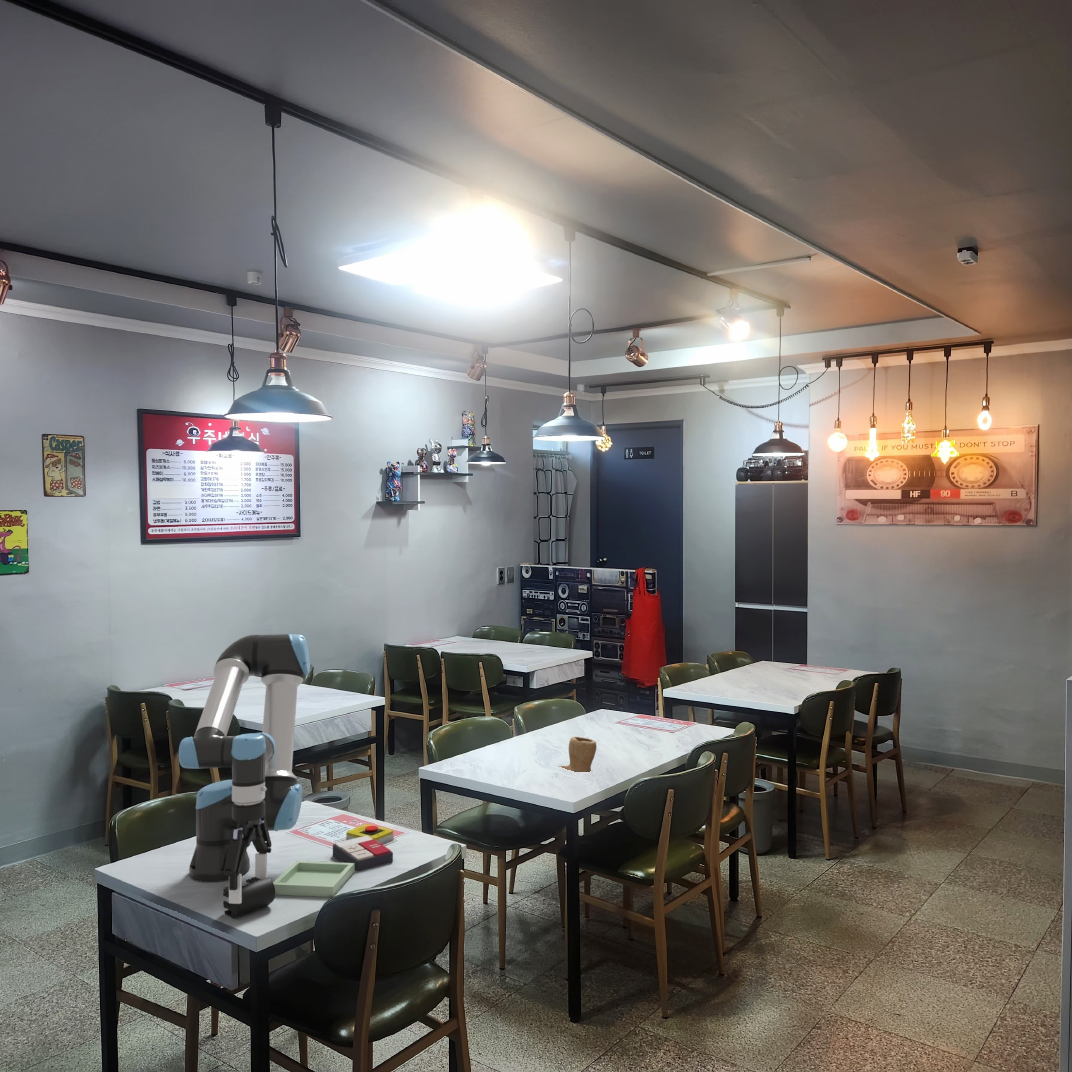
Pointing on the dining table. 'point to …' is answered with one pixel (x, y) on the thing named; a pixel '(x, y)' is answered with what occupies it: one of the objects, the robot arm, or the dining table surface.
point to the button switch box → (362, 852)
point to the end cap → (251, 897)
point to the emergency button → (372, 834)
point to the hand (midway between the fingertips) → (248, 891)
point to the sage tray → (313, 878)
